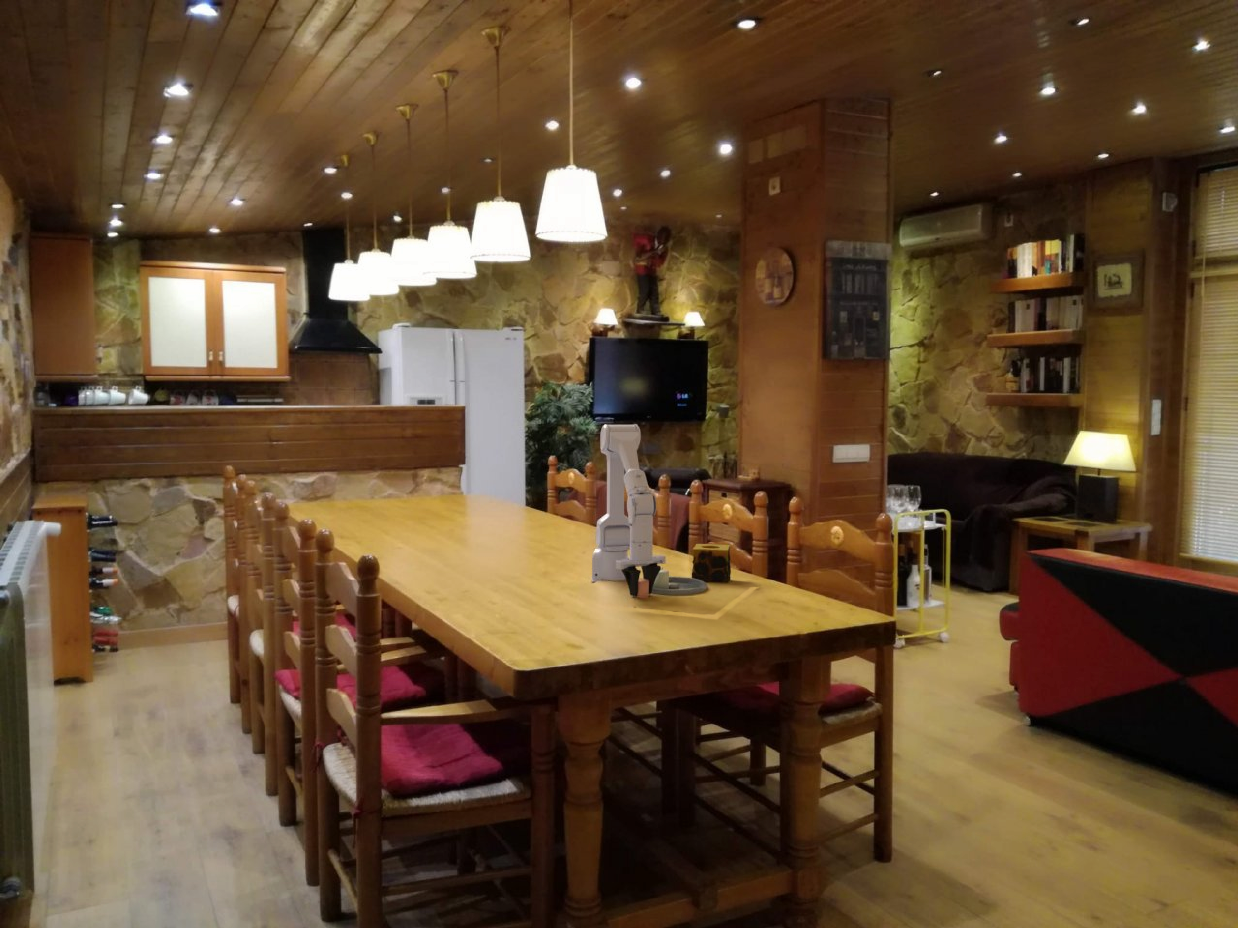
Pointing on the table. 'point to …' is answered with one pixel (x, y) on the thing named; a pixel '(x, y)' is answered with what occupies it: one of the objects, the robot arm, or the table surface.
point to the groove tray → (682, 586)
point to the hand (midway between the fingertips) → (640, 594)
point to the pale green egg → (662, 580)
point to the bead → (643, 588)
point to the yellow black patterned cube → (711, 563)
